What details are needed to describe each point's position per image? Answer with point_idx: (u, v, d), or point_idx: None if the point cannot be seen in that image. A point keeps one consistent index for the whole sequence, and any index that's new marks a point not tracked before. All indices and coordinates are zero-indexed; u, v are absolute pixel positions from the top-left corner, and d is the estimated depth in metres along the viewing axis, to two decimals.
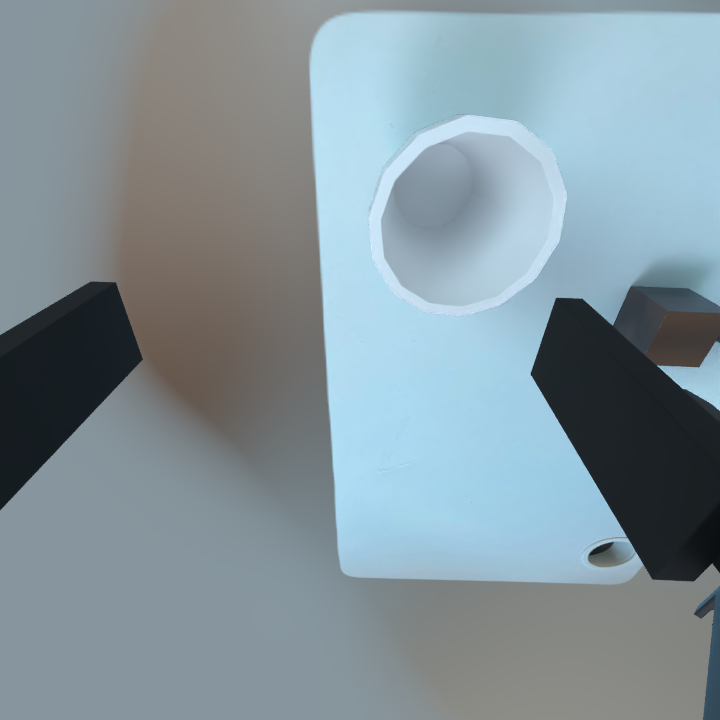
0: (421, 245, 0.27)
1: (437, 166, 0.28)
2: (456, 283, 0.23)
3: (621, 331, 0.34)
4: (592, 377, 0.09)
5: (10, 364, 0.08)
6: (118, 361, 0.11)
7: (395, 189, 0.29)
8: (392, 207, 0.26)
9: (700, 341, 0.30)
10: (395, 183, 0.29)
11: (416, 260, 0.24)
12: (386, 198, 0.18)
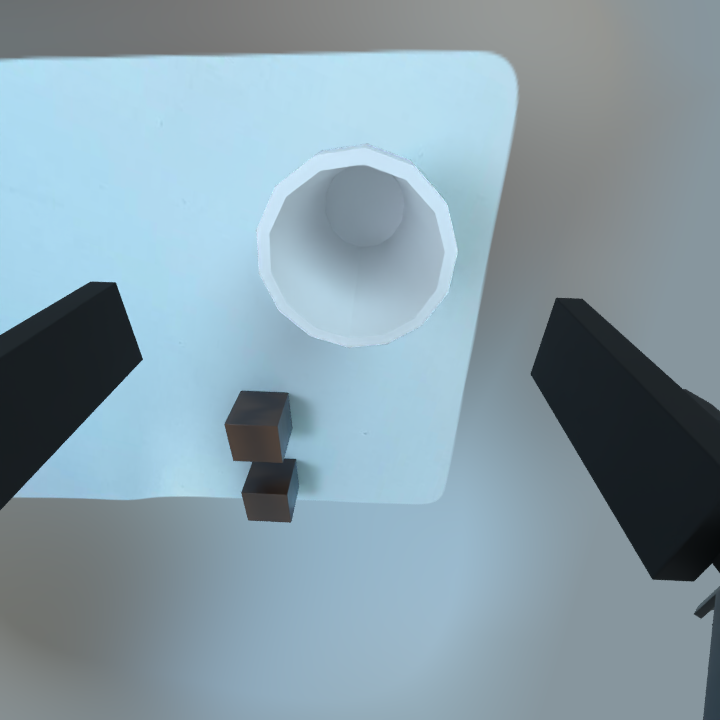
0: (312, 204, 0.24)
1: (383, 210, 0.28)
2: (288, 257, 0.20)
3: (248, 399, 0.38)
4: (592, 377, 0.09)
5: (10, 364, 0.08)
6: (118, 361, 0.11)
7: (362, 164, 0.26)
8: None
9: (256, 453, 0.37)
10: None
11: (303, 204, 0.21)
12: (388, 171, 0.16)
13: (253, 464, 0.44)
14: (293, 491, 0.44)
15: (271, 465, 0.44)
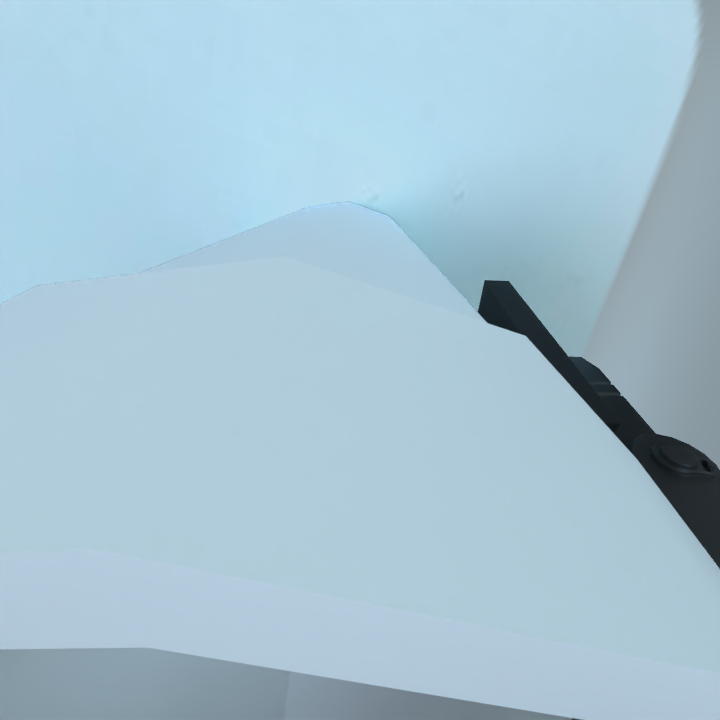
0: None
1: None
2: None
3: None
4: None
5: None
6: None
7: None
8: None
9: None
10: None
11: None
12: (431, 691, 0.01)
13: None
14: None
15: None
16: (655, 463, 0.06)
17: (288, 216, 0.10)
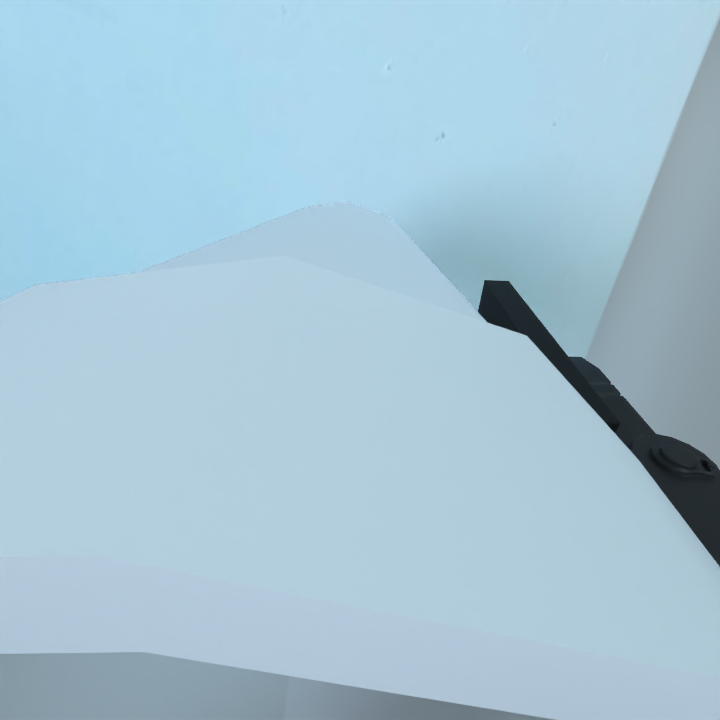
0: None
1: None
2: None
3: None
4: None
5: None
6: None
7: None
8: None
9: None
10: None
11: None
12: (432, 696, 0.01)
13: None
14: None
15: None
16: (655, 463, 0.06)
17: (288, 216, 0.10)
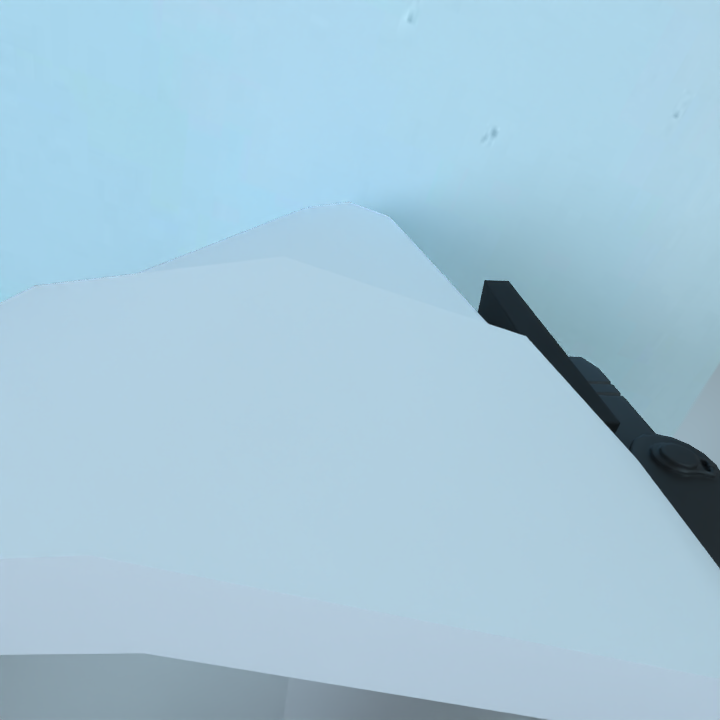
0: None
1: None
2: None
3: None
4: None
5: None
6: None
7: None
8: None
9: None
10: None
11: None
12: (431, 697, 0.01)
13: None
14: None
15: None
16: (655, 463, 0.06)
17: (288, 216, 0.10)
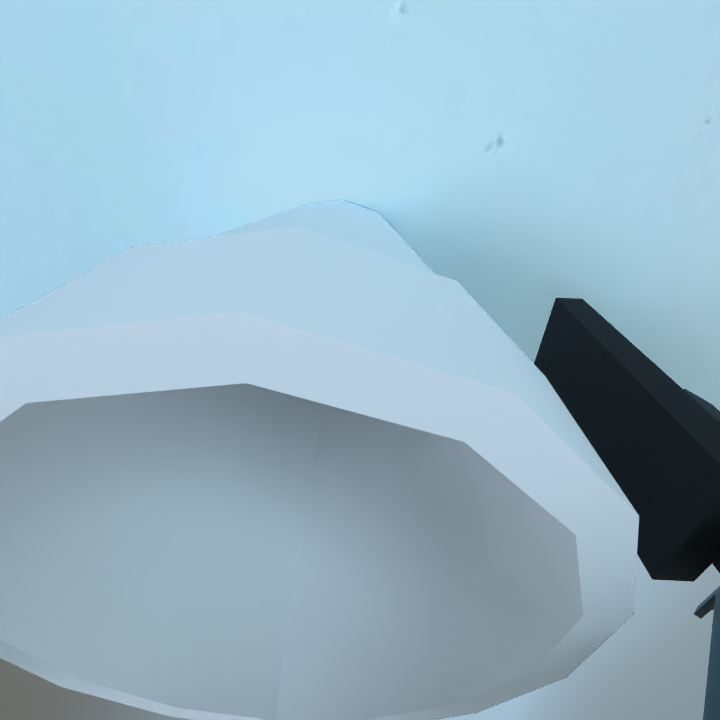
0: None
1: None
2: (115, 490, 0.08)
3: None
4: (592, 377, 0.09)
5: None
6: None
7: None
8: None
9: None
10: None
11: None
12: (374, 410, 0.03)
13: None
14: None
15: None
16: None
17: (289, 211, 0.11)
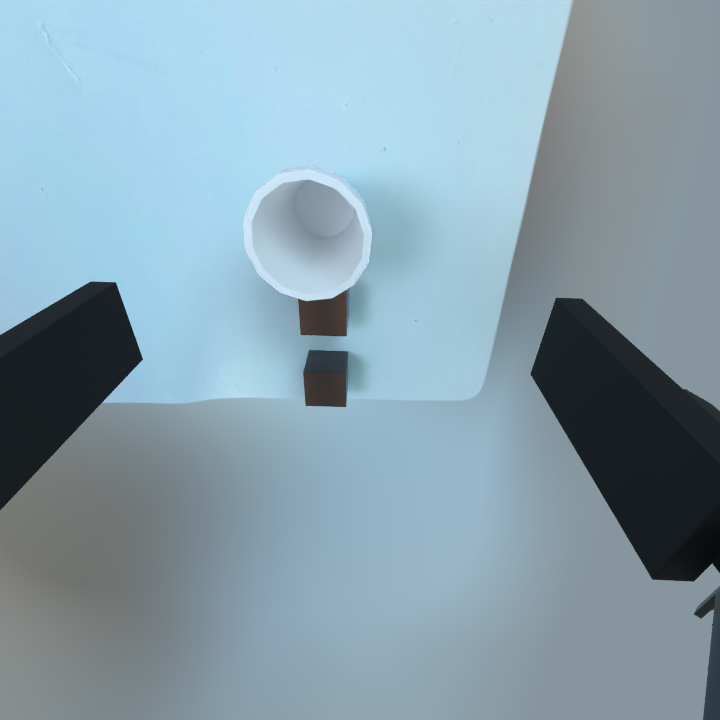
0: (284, 204, 0.34)
1: (338, 209, 0.38)
2: (265, 239, 0.30)
3: None
4: (592, 377, 0.09)
5: (10, 364, 0.08)
6: (118, 361, 0.11)
7: None
8: None
9: (322, 326, 0.40)
10: None
11: (275, 204, 0.31)
12: (324, 183, 0.25)
13: (309, 354, 0.47)
14: None
15: (326, 355, 0.47)
16: None
17: None
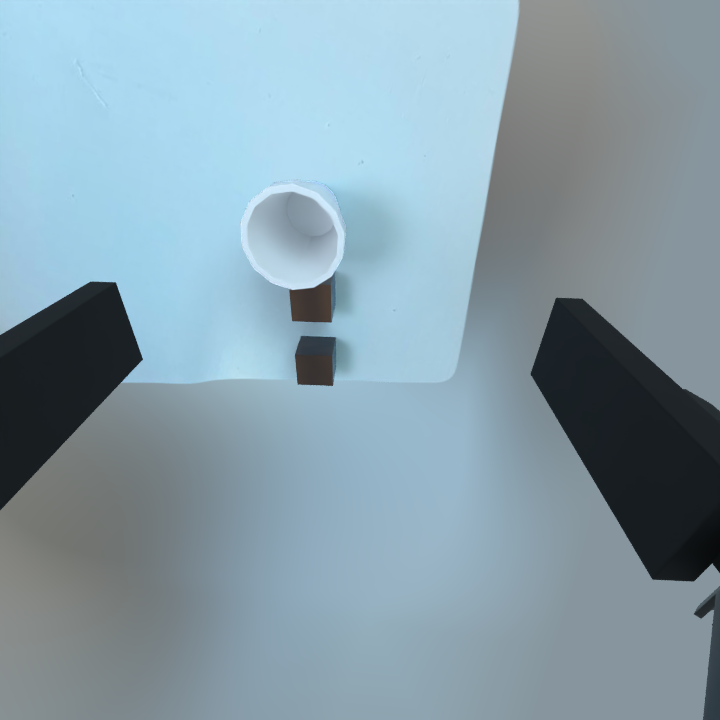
0: (276, 209, 0.40)
1: (324, 212, 0.44)
2: (259, 239, 0.36)
3: None
4: (592, 377, 0.09)
5: (10, 364, 0.08)
6: (118, 361, 0.11)
7: None
8: None
9: (311, 313, 0.47)
10: None
11: (268, 209, 0.37)
12: (304, 194, 0.32)
13: (301, 339, 0.53)
14: (334, 362, 0.54)
15: (316, 340, 0.53)
16: None
17: None
